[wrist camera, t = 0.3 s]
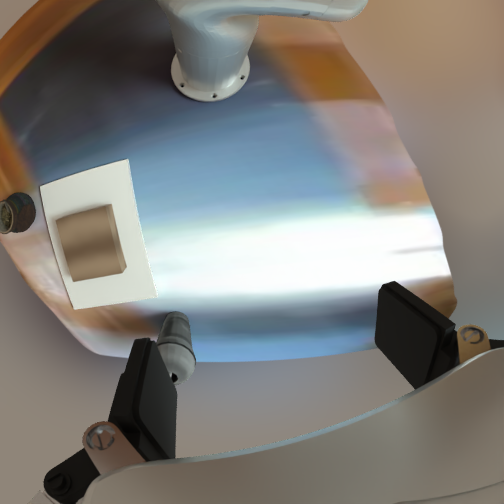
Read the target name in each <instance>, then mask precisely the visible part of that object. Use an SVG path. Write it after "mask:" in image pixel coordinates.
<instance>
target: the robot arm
mask: <svg viewBox="0 0 504 504" xmlns="http://www.w3.org/2000/svg"><path fill="white" fill-rule="evenodd" d="M156 1H157V3H158V4H159V6H160V7H161V8H162V9H163V11H164V12H165V14H166V16H167V18H168V21H169V24H170V28H171V32H172V36H173V40H174V44H175V49H176V54H175V56H174V58H173V61H172V65H171V74H172V79H173V81H174V84H175V85H176V87H177V88H178V89H179V90H180V92H181V93H183V94H184V95H186V96H187V97H189V98H191V99H193V100H197V101H201V102H216V101H220V100H224V99H226V98H228V97H231V96H232V95H234V94H235V93H237V92H238V91H239V90H240V89H241V88H242V86H243V85H244V83H245V82H246V80H247V78H248V75H249V70H250V63H249V58H248V56H247V53H248V50H249V48H250V46H251V43H252V41H253V39H254V36H255V34H256V31H257V29H258V24H259V15H276V16H288V17H298V18H306V19H314V20H321V21H330V22H341V21H347V20H350V19H352V18H353V17H355V16H357V15H358V14H359V13H360V12H361V11H362V10H363V8H364V7H365V6H366V4H367V2H368V0H156ZM240 78H243V80H241V79H240ZM182 85H183V86H184V87H183V88H182V87H181V86H182ZM213 96H215V97H216V98H213ZM454 329H455V323H453V322H452V321H451V320H449V319H448V318H447V317H445V316H444V315H442V314H441V313H440V312H438V311H437V310H436V309H434V308H433V307H431V306H430V305H429V304H427V303H426V302H424V301H423V300H422V299H420V298H419V297H417V296H416V295H414V294H413V293H412V292H410V291H409V290H407V289H406V288H404V287H403V286H401V285H400V284H399V283H397V282H395V281H392V282H389V283H386V284H383V285H382V287H381V289H379V293H378V308H377V320H376V331H375V343H376V345H377V347H378V348H379V349H380V350H381V351H382V352H383V354H384V355H385V356H386V357H387V358H388V359H389V360H390V361H391V362H392V364H393V365H394V366H395V367H396V368H397V369H398V370H399V371H400V373H401V374H402V375H403V376H404V377H405V378H406V380H407V381H408V382H409V383H410V384H411V385H412V386H413V387H414V389H415V390H414V391H412V392H410V393H408V394H406V395H404V396H402V397H400V398H398V399H396V400H394V401H392V402H390V403H387V404H385V405H383V406H381V407H379V408H376V409H374V410H372V411H369V412H367V413H365V414H362V415H360V416H357V417H355V418H352V419H350V420H347V421H344V422H341V423H339V424H336V425H333V426H330V427H327V428H324V429H322V430H318V431H315V432H312V433H308V434H305V435H302V436H298V437H295V438H291V439H287V440H284V441H279V442H275V443H272V444H267V445H262V446H258V447H253V448H248V449H243V450H238V451H231V452H225V453H219V454H212V455H204V456H196V457H187V458H177V459H175V442H176V441H175V440H176V408H177V391H176V388H175V386H174V383H173V381H172V379H171V377H170V375H169V372H168V370H167V368H166V366H165V363H164V361H163V359H162V356H161V354H160V351H159V349H158V347H157V344H156V342H155V341H154V340H153V341H151V340H150V338H142V339H136V340H135V341H134V343H133V346H132V349H131V353H130V356H129V359H128V362H127V365H126V369H125V372H124V373H123V374H121V376H120V379H119V382H118V386H117V389H116V393H115V396H114V400H113V403H112V407H111V411H110V414H109V418H108V422H105V421H102V422H97V423H95V424H93V425H91V426H90V427H89V428H88V429H87V430H86V431H85V432H84V435H83V440H82V443H83V446H84V448H83V449H82V450H80V451H79V452H77V453H76V454H74V455H73V456H71V457H70V458H68V459H67V460H65V461H64V462H62V463H60V464H59V465H57V466H56V467H54V468H53V469H51V470H50V471H49V472H48V473H47V474H46V476H45V479H44V488H45V490H44V492H41V491H39V492H38V493H37V494H36V495H35V496H34V497H33V498H32V500H31V501H30V502H29V503H28V504H504V340H492V339H488V335H487V333H486V331H484V329H482V328H481V327H479V326H476V325H472V324H469V325H463V326H461V327H460V328H459V329H458V331H455V330H454Z"/></svg>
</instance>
